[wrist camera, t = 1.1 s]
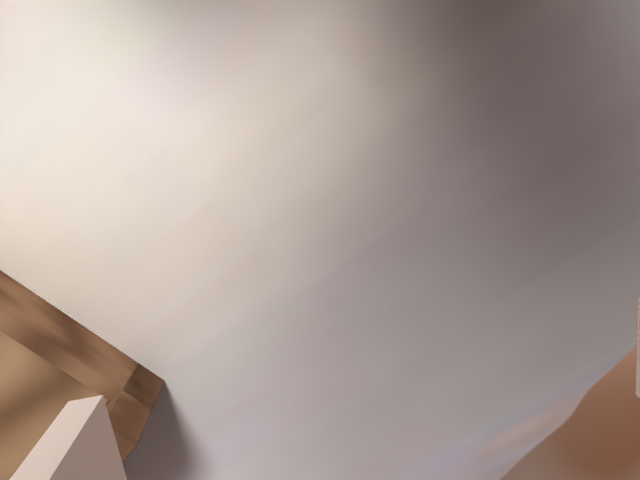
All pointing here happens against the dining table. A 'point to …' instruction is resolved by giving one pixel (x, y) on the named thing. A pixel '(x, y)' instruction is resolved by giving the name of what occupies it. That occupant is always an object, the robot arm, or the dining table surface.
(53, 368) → the wooden tray
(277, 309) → the dining table surface
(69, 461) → the robot arm
